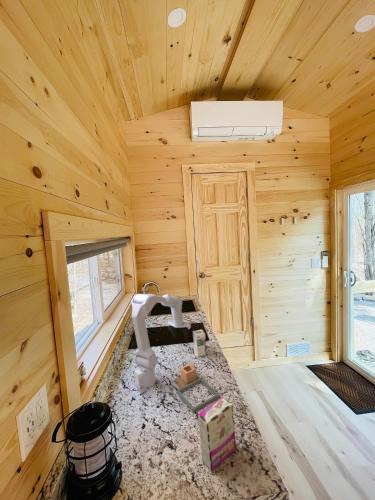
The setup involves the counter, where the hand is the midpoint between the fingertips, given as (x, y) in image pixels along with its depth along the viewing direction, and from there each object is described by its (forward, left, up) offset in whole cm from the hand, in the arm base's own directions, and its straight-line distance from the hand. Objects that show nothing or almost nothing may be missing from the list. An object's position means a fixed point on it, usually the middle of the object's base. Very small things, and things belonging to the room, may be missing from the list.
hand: (181, 337), depth 135 cm
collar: (-9, -22, -9) cm, 25 cm away
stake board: (-11, -22, -10) cm, 27 cm away
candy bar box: (-21, -59, -11) cm, 64 cm away
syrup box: (+8, -8, -11) cm, 15 cm away
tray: (-12, -34, -10) cm, 37 cm away
